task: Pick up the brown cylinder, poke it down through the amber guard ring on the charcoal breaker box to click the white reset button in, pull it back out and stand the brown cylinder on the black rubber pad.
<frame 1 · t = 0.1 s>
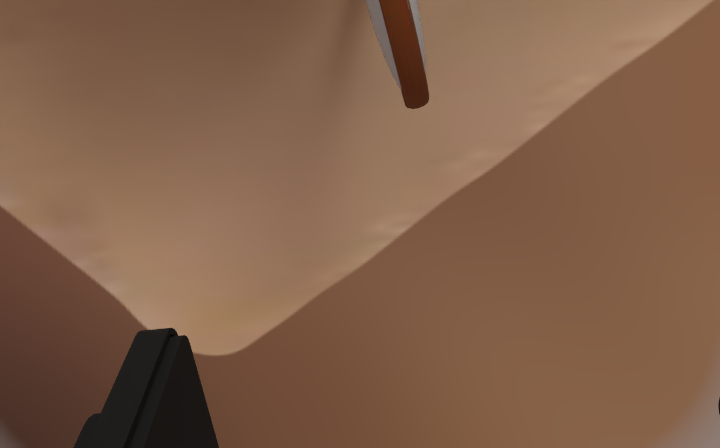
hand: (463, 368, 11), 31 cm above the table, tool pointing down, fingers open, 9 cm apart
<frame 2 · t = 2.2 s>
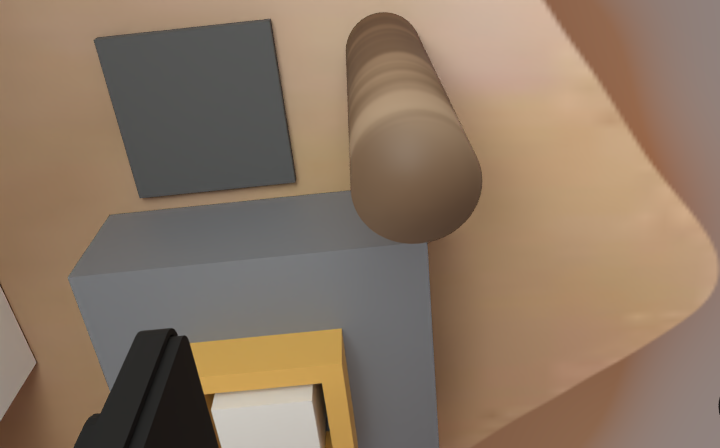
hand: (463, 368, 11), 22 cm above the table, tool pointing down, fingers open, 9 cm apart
brown cylinder: (383, 51, 30), on the table
breaker box: (284, 322, 38), on the table
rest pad: (202, 111, 32), on the table
reset button: (275, 395, 32), point 6 cm above the table, slide at 0.0 cm
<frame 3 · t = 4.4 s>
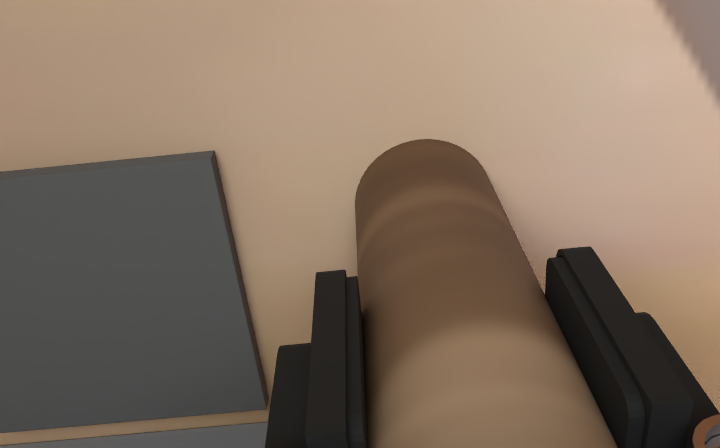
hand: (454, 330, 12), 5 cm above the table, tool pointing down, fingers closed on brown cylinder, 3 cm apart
brown cylinder: (423, 203, 17), on the table, touching gripper
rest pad: (99, 300, 18), on the table
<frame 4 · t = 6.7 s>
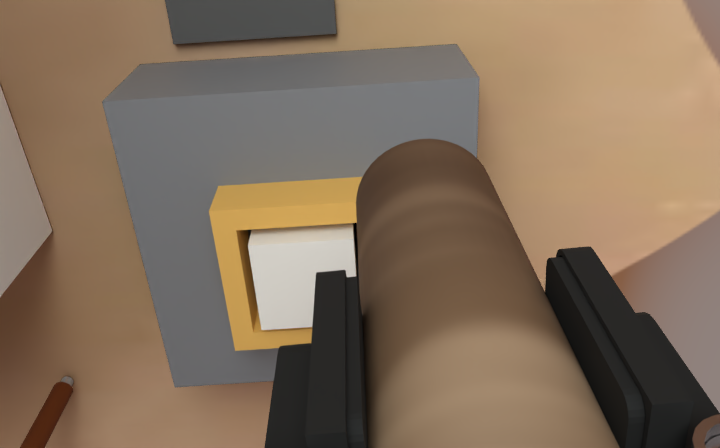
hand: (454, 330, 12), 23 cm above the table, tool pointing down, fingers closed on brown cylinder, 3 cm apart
magnifying glass: (70, 375, 43), on the table
brown cylinder: (424, 203, 17), point 18 cm above the table, touching gripper
breaker box: (312, 196, 37), on the table
reset button: (308, 251, 31), point 6 cm above the table, slide at 0.0 cm
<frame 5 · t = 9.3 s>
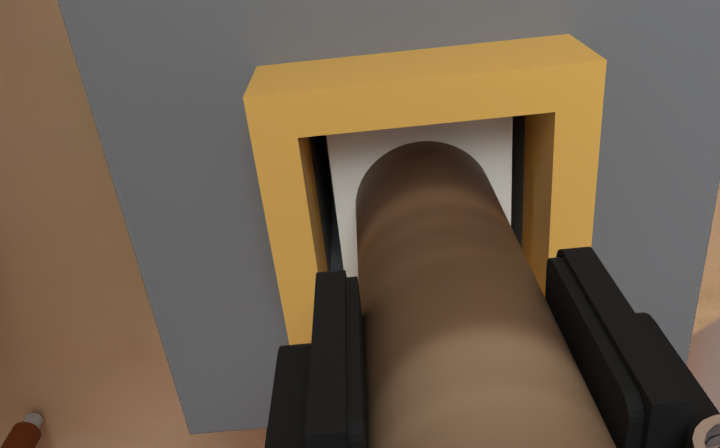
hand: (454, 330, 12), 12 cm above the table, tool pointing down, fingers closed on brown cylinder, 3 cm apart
magnifying glass: (38, 411, 29), on the table
brown cylinder: (423, 205, 17), point 7 cm above the table, touching gripper, reset button
breaker box: (402, 117, 23), on the table
reset button: (412, 158, 19), point 4 cm above the table, slide at 2.2 cm, touching brown cylinder
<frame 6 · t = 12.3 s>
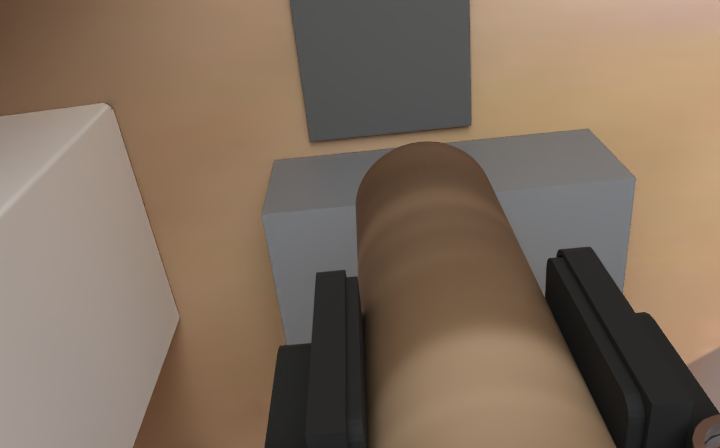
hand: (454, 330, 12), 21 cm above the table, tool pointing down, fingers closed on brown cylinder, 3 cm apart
brown cylinder: (423, 205, 17), point 16 cm above the table, touching gripper
breaker box: (436, 276, 37), on the table
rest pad: (383, 50, 31), on the table
when the fingers open (7 cm above the table, at t = 15.0 s): brown cylinder stays where it is, resting on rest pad.
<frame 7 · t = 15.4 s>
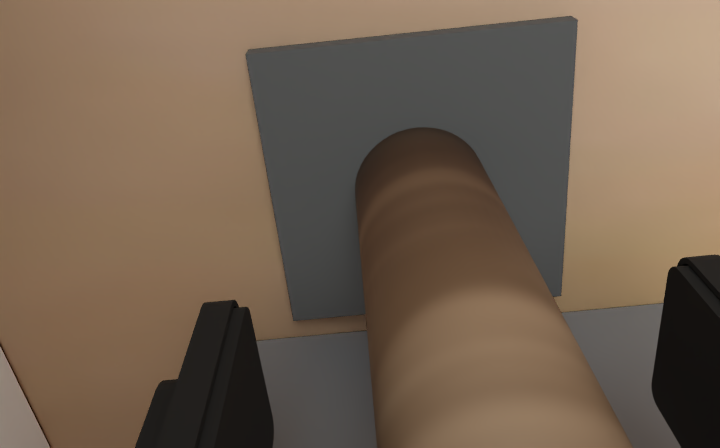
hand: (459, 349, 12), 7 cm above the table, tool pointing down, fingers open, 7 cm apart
brown cylinder: (419, 189, 18), point 1 cm above the table, touching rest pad
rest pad: (417, 179, 18), on the table
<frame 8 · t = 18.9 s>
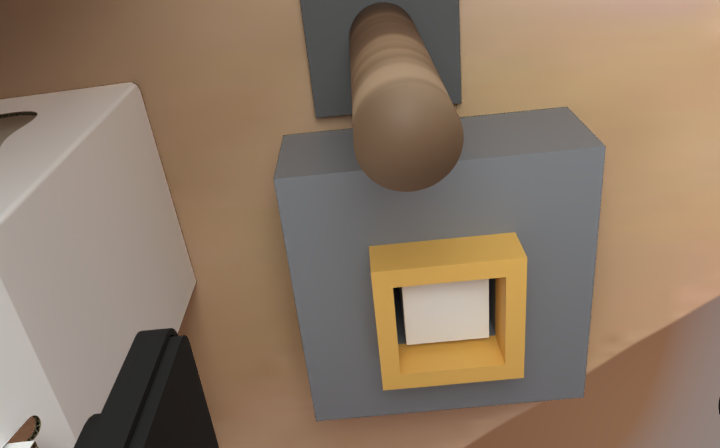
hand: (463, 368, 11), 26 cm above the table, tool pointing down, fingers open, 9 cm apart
brown cylinder: (382, 37, 34), point 1 cm above the table, touching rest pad
breaker box: (431, 243, 40), on the table
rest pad: (382, 34, 34), on the table
reset button: (439, 276, 37), point 4 cm above the table, slide at 2.2 cm
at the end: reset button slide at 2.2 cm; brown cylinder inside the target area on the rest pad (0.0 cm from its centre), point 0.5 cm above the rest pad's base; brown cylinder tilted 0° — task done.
